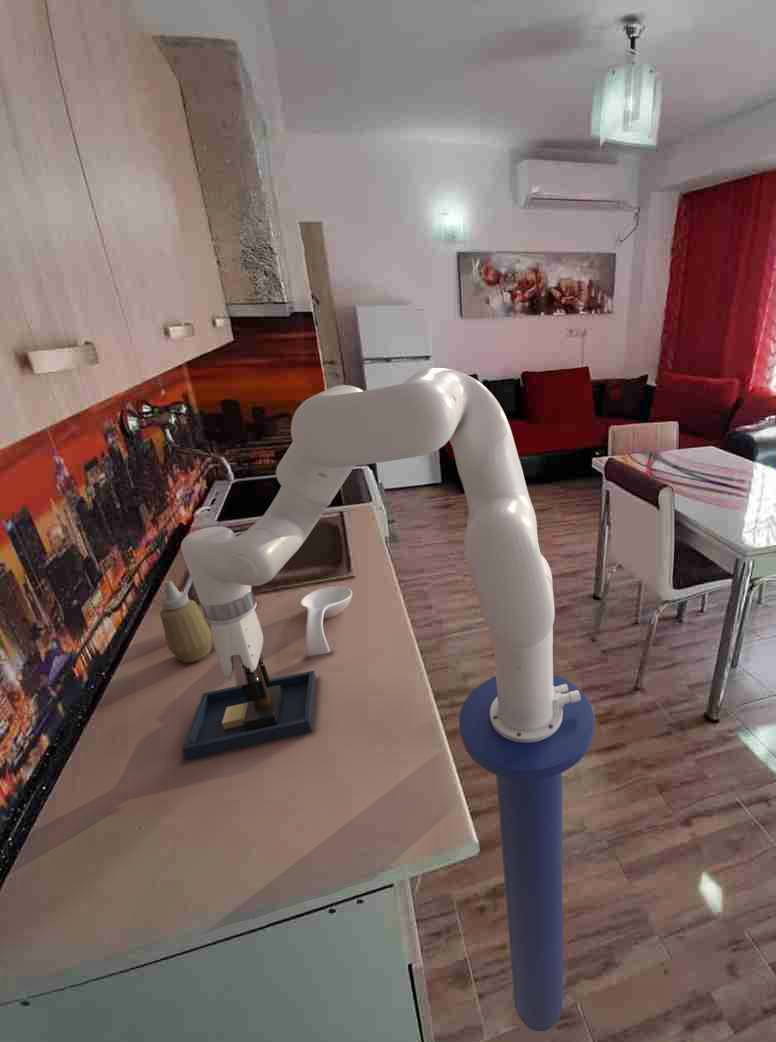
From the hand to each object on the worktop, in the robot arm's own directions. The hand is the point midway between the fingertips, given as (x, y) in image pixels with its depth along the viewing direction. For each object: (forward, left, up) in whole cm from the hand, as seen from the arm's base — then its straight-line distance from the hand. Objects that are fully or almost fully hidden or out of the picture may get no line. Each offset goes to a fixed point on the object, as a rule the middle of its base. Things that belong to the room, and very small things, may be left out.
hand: (258, 691), depth 89 cm
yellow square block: (+5, 0, -5) cm, 7 cm away
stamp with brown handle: (0, 0, -5) cm, 5 cm away
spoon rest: (-9, -26, -6) cm, 28 cm away
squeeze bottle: (+18, -24, -6) cm, 30 cm away
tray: (+2, 0, -5) cm, 6 cm away
